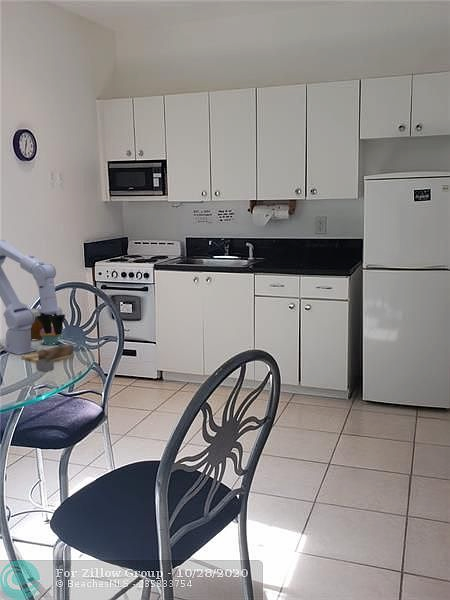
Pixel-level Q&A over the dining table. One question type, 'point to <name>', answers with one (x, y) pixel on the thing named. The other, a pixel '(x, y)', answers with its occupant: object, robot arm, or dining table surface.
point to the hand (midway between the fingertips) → (53, 333)
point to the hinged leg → (55, 352)
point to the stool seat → (34, 357)
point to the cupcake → (49, 336)
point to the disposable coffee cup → (36, 325)
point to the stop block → (44, 365)
